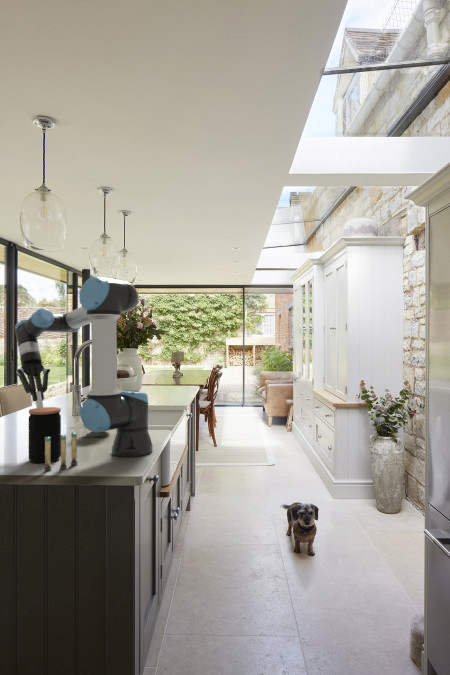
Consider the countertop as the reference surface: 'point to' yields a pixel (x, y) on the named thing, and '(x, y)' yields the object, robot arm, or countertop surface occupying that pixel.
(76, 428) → the countertop surface
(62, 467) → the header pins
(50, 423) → the coffee jar
